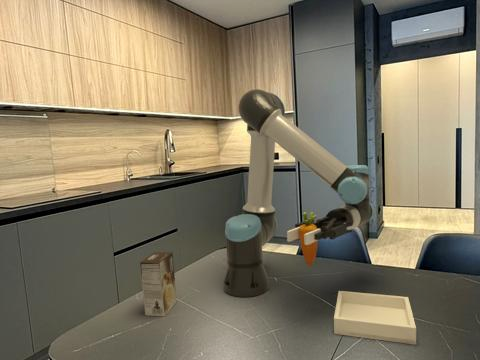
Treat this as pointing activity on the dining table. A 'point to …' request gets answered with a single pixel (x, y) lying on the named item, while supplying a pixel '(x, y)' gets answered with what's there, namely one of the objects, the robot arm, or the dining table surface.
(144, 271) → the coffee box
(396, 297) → the tray
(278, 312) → the dining table surface
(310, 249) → the carrot
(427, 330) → the dining table surface
